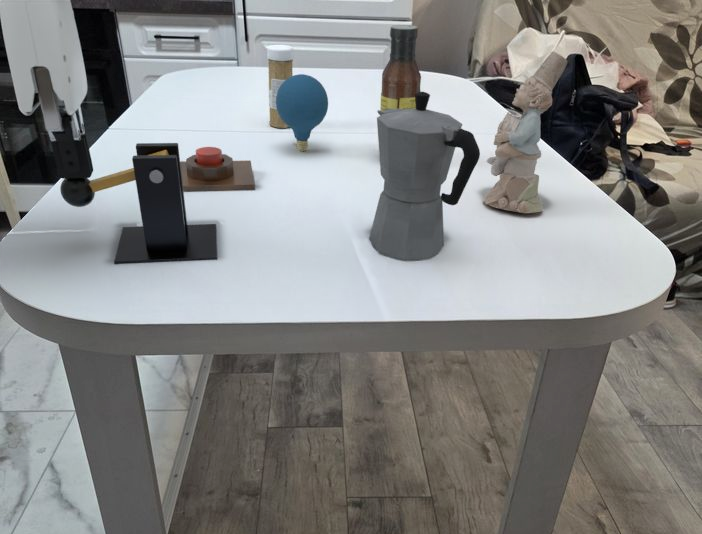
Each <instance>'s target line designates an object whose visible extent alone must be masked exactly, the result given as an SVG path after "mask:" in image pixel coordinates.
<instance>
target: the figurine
mask: <svg viewBox="0 0 702 534" xmlns="http://www.w3.org/2000/svg"><path fill="white" fill-rule="evenodd" d="M567 65H568V60H567V59H566V58H565V57H564V56H563V55H561V54H559V53H558V52H556V51H551V52H550V53H549V54H548V55H547V56H546V58H545V59H544V61H542V63H541V64H540V65H539V67H538V69H536V71H535V72H534V73H533V75H530V76H529V77H527V78H525V79H524V86H522V88H516V93H515V94H514V96H515V97H514V98H513V101H512V103H511V104H512V105H513V107H517V108H519V109H521V110H522V115H521V116H520V117H519V116H516V115H513V114H512V113H510V112H509V111H507V112H506V114H505V115H504V117H503V119H502V121H500V122H499V124H498V126H497V132H496V134H495V135H494V141H493V146H496V149H495V150H494V154H495V156H490V157H489V158H487V159H486V163H487V164H489V165H491V168H490V173H491V175H493V176H494V177H498V176H499V180H498V181H497V182H495V184H494V186H493V187H492V188H491V189H490V190H489V191H487V193H485V195H484V196H483V198H482V202H483V203H485V205H489V206H490V207H492V208H496V209H500V210H503V211H508V212H514V213H519V214H534V213H540V212H543V211H544V205H543V204H542V202H541V200H540V196H539V183H540V175H539V174H536V173H535V171H536V166H537V163H538V159H540V158H542V151H541V149H540V148H539V146H538V143H539V142H540V141H541V121H542V120H541V114H544V112H546V111H548V109H549V108H550V107H552V105H553V97H552V94H553V89H554V88H555V86H556V85H557V82H558V81H559V79H560V78H561V76H562V75H563V73H564V71H565V69H566V68H567Z"/></svg>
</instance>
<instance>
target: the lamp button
mask: <svg viewBox="0 0 702 534" xmlns="http://www.w3.org/2000/svg"><path fill="white" fill-rule="evenodd" d="M222 154H223V151H222V149H221V148H219V147H216V146H202V147H199V148H197V149H195V155H196V160H197V164H200V165H205V166H209V165H218V164H221V163H223V162H222Z"/></svg>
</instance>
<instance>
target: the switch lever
mask: <svg viewBox="0 0 702 534" xmlns="http://www.w3.org/2000/svg"><path fill="white" fill-rule="evenodd" d="M150 155H169V154H168V152H167V150H163V151H160V152H157V153H153V154H150ZM134 181H136V180H135V173H134V167H131V168H128V169H125V170H121V171H118V172H115V173H110V174H107V175H105V176H101V177H98V178H95V179H90V178H68V179H63V180H62V182H61V183H60V195H61V197H62V198H63V200H64V202H66V203H67V204H69V205H70V206H72V207H77V208H83V207H86V206H88V205H89V204H91V203H92V201H93V200H94V198H95V195H96V192H100V191H104V190H107V189H111V188H113V187H117V186H119V185H123V184H127V183H130V182H134Z"/></svg>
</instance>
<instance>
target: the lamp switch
mask: <svg viewBox="0 0 702 534" xmlns="http://www.w3.org/2000/svg"><path fill="white" fill-rule="evenodd" d="M135 150H136V151H135V152H136V155H132V158H131V161H132V166H133V167H132V168H134V173H135V180H134V181H135V186H136V192H137V198H138V205H139V210H140V216H141V223H142V226H140V225H139V226H123V227H122V229H121V232H120V237H119V241H118V246H117V249H116V253H115V256H114V261H113V263H114V265H128V264H150V263H173V262H175V263H176V262H195V261H197V262H199V261H217V260H218V242H217V239H218V238H217V237H218V236H217V223H201V224H199V223H198V224H188V219H187V218H188V217H187V210H186V202H185V201H186V200H185V192H184V191H183V183H182V174H181V165H180V162H181V158H180V157H181V156H180V149H179V143H178V142H154V143H153V142H148V143H147V142H145V143H144V142H141V143H140V142H138V143H136V144H135ZM163 150H167V152H168V154H169V155H150V154H153V153H157V152H160V151H163Z"/></svg>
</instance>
